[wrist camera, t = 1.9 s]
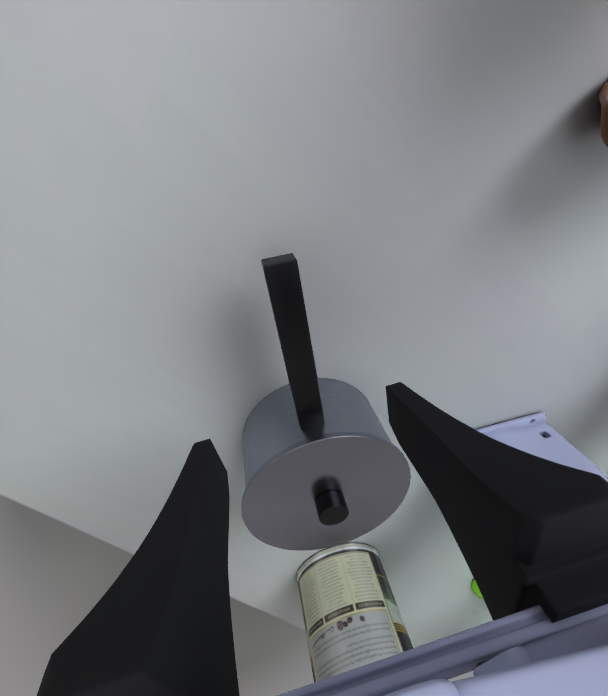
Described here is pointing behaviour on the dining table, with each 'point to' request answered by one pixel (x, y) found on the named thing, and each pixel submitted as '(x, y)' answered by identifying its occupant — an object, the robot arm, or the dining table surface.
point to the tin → (604, 113)
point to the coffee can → (348, 610)
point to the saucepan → (314, 444)
